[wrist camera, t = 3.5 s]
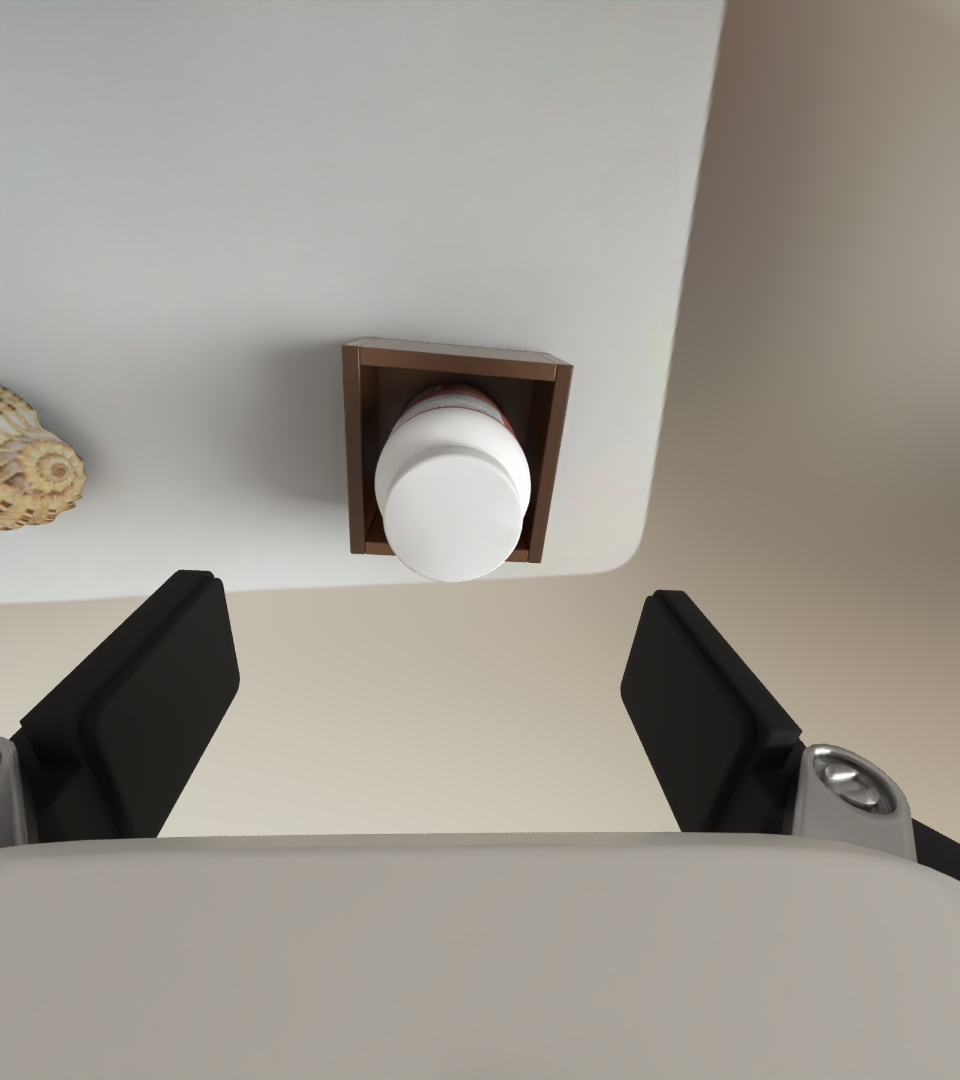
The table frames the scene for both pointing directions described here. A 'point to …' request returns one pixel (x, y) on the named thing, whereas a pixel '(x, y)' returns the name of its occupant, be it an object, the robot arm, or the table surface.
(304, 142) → the table surface
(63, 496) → the seashell
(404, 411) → the pill bottle
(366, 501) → the wooden box
